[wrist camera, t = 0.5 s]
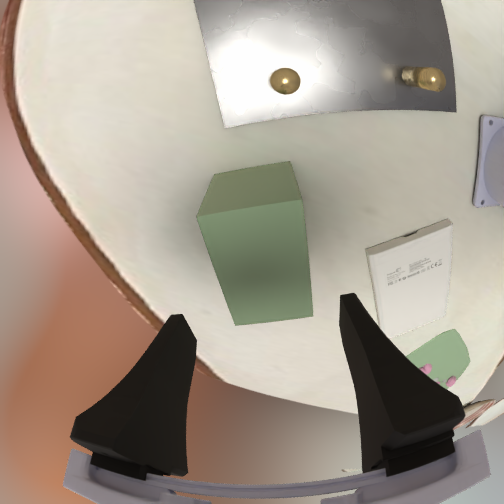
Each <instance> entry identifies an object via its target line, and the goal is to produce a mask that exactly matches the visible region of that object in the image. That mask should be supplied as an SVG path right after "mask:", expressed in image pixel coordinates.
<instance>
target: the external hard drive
mask: <svg viewBox="0 0 504 504" xmlns="http://www.w3.org/2000/svg"><path fill="white" fill-rule="evenodd" d="M452 225H453V224H452V222H451V221H450V220H449V219H446V220H443V221H441V222H438V223H436V224H433V225H430V226H428V227H425V228H423V229H420V230H417V231H416V233H414V234H412V235H409V236H407V237H402V236H401V237H398V238H396V239H393V240H390V241H387V242H385V243H382V244H379V245H376V246H373V247H371V248H368V249H366V254H367V259H368V264H369V269H370V274H371V280H372V285H373V291H374V297H375V303H376V309H377V316H378V323H379V328H380V329H381V330H382V331H383V333H384V334H385V335H386V336H387V337H388V338H389V339H391V338H393V337H396V336H399V335H401V334H404V333H407V332H409V331H412V330H414V329H417V328H419V327H422V326H424V325H426V324H429V323H431V322H433V321H436V320H438V319H440V318H442V317H444V316H445V315H446V310H447V303H448V295H449V286H450V275H451V261H452V230H453V228H452Z"/></svg>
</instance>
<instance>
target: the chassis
mask: <svg viewBox="0 0 504 504" xmlns="http://www.w3.org/2000/svg"><path fill="white" fill-rule="evenodd" d="M194 3H195V8H196V12H197V16H198V20H199V24H200V28H201V32H202V36H203V40H204V44H205V48H206V52H207V57H208V61H209V65H210V69H211V73H212V77H213V81H214V85H215V89H216V94H217V98H218V102H219V106H220V110H221V114H222V118H223V122H224V127H225V128H230V127H234V126H239V125H245V124H250V123H255V122H261V121H267V120H273V119H280V118H287V117H294V116H302V115H311V114H320V113H331V112H344V111H362V110H429V111H445V112H456V91H455V77H454V67H453V59H452V52H451V45H450V39H449V34H448V28H447V24H446V19H445V15H444V10H443V6H442V3H441V0H194Z"/></svg>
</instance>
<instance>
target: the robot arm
mask: <svg viewBox="0 0 504 504" xmlns="http://www.w3.org/2000/svg"><path fill="white" fill-rule="evenodd" d="M489 121H490V124H489ZM481 201H482V202H481ZM473 205H474V206H475V207H477V208H480V207H488V206H497V205H501V206H503V207H504V118H500V117H494V116H488V115H483V116H482V117H481V125H480V148H479V160H478V170H477V179H476V186H475V193H474V199H473ZM339 326H340V332H341V338H342V343H343V347H344V351H345V354H346V358H347V362H348V365H349V369H350V372H351V376H352V380H353V384H354V388H355V393H356V399H357V407H358V415H359V424H360V434H361V450H362V471H363V473H362V474H358V475H353V476H348V477H342V478H336V479H329V480H322V481H314V482H306V483H305V482H304V483H292V484H274V485H238V484H219V483H208V482H198V481H190V480H183V479H176V478H170V477H164V476H163V475H167V476H170V475H176V476H185V475H186V474H187V473H188V468H187V456H186V417H187V403H188V397H189V391H190V386H191V381H192V376H193V371H194V366H195V360H196V347H197V339H196V338H195V336H194V334H193V332H192V331H191V329H190V327H189V325H188V323H187V321H186V320H185V318H184V316H183V314H175V315H171V316H170V317H169V318H168V320H167V321H166V323H165V324H164V325H163V327H162V328H161V330H160V331H159V333H158V334H157V336H156V337H155V339H154V340H153V342H152V343H151V344H150V346H149V347H148V349H147V350H146V351H145V353H144V354H143V356H142V357H141V358H140V359H139V361H138V362H137V363H136V365H135V366H134V367H133V368H132V369H131V371H130V372H129V373H128V374H127V375H126V376H125V377H124V378H123V379H122V380H121V381H120V383H118V384H117V385H116V386H115V387H114V388H113V389H112V390H111V391H110V392H109V393H108V394H107V395H106V396H104V397H103V398H102V399H101V400H100V401H98V402H97V403H96V404H94V405H93V406H92V407H90V408H89V409H88V410H86V411H84V412H83V413H81V414H80V415H79V416H77V417H76V419H75V422H74V426H73V428H72V432H71V435H70V438H71V439H72V440H73V441H74V442H76V443H77V444H79V445H81V446H83V447H85V448H87V449H89V450H90V451H92V452H93V454H92V456H91V455H88V454H86V453H83V452H81V451H78V450H75V449H71V453H70V457H69V460H68V465H67V469H66V473H65V478H64V482H63V486H64V487H66V488H67V489H69V490H71V491H73V492H75V493H77V494H79V495H81V496H83V497H85V498H87V499H89V500H91V501H93V502H95V503H97V504H211V501H206V500H200V499H194V498H189V497H183V496H178V495H177V494H176V493H175V492H174V491H178V492H184V493H190V494H198V495H206V496H216V497H230V498H291V497H303V496H313V495H322V494H329V493H336V492H342V491H347V490H353V489H357V490H356V491H355V493H354V494H348V495H343V496H337V497H332V498H325V499H322V500H321V504H439V503H441V502H443V501H445V500H447V499H449V498H451V497H453V496H455V495H457V494H459V493H461V492H463V491H465V490H467V489H468V488H470V487H472V486H474V485H476V484H477V483H479V482H481V481H483V480H484V479H486V478H488V477H489V476H490V475H491V473H490V468H489V463H488V459H487V454H486V449H485V445H484V441H483V437H482V434H481V430H477V431H475V432H473V433H471V434H469V435H467V436H465V437H463V438H461V439H459V440H457V441H455V442H453V439H452V437H453V436H454V431H453V428H454V427H456V426H457V425H458V424H459V423H460V422H462V421H463V420H464V418H465V416H466V414H465V411H464V408H463V405H462V403H461V401H460V399H459V397H458V396H456V395H455V394H453V393H452V392H450V391H448V390H447V389H445V388H444V387H442V386H441V385H439V384H438V383H437V382H435V381H434V380H433V379H431V378H430V377H429V376H427V375H426V374H425V373H424V372H423V371H421V370H420V369H419V368H418V367H416V366H415V365H414V364H413V363H412V362H411V361H410V360H409V359H408V358H407V357H406V356H405V355H404V354H403V353H402V352H401V351H400V350H399V349H398V348H397V347H396V346H395V345H394V344H393V343H392V342H391V341H390V340H389V338H388V337H387V336H386V335H385V334H384V333H383V331H382V330H381V329H380V328H379V326H378V325H377V324H376V323H375V321H374V320H373V319H372V317H371V316H370V315H369V313H368V312H367V310H366V309H365V308H364V306H363V305H362V303H361V302H360V300H359V299H358V297H357V295H356V294H355V293H350V294H344V295H340V318H339ZM358 488H359V489H358Z"/></svg>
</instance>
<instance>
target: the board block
mask: <svg viewBox="0 0 504 504" xmlns="http://www.w3.org/2000/svg"><path fill="white" fill-rule="evenodd" d="M196 217H197V220H198V223H199V226H200V229H201V232H202V235H203V238H204V241H205V244H206V247H207V250H208V253H209V255H210V258H211V261H212V264H213V267H214V270H215V272H216V275H217V278H218V281H219V283H220V286H221V289H222V292H223V294H224V297H225V300H226V302H227V305H228V308H229V310H230V313H231V316H232V318H233V321H234V324H235V326H237V325H247V324H257V323H266V322H274V321H283V320H290V319H298V318H305V317H312V316H313V305H312V292H311V279H310V268H309V257H308V247H307V237H306V228H305V219H304V210H303V202H302V197H301V194H300V191H299V188H298V184H297V181H296V178H295V175H294V172H293V169H292V166H291V163H290V161H288V162H281V163H274V164H268V165H262V166H256V167H251V168H245V169H240V170H234V171H229V172H224V173H219V174H214V177H213V179H212V181H211V183H210V186H209V188H208V190H207V193H206V195H205V197H204V200H203V202H202V204H201V207H200V209H199V212H198V214H197V216H196Z"/></svg>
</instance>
